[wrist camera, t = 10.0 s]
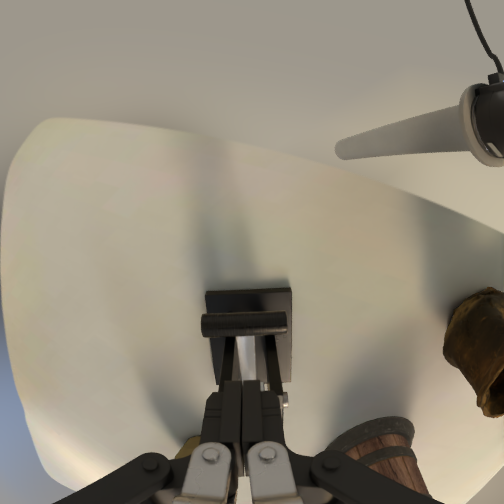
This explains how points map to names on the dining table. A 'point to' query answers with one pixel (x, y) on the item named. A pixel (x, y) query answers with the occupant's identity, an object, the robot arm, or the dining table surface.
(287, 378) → the bracket
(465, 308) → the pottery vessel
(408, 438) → the tankard
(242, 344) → the lever
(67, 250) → the dining table surface
